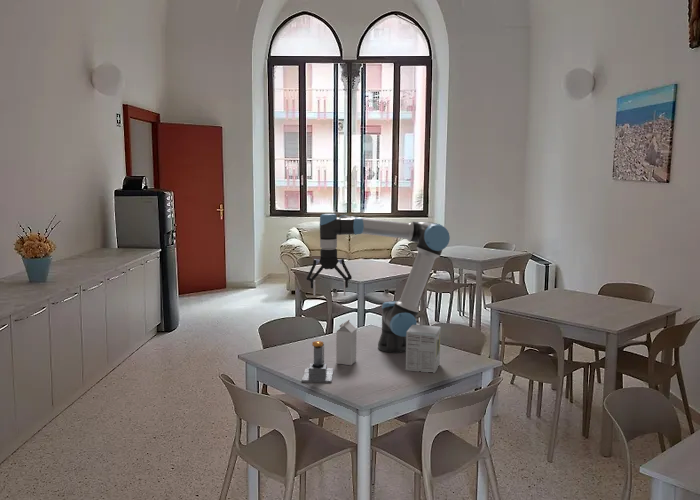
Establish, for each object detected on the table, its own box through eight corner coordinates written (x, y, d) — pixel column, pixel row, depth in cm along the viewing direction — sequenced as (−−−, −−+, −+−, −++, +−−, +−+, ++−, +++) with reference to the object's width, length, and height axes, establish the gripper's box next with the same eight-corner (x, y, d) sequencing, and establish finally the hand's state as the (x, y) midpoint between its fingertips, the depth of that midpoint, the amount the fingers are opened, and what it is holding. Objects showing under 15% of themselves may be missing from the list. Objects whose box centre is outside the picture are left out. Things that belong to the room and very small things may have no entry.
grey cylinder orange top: (323, 373, 263) (323, 341, 261) (322, 377, 259) (323, 344, 257) (312, 373, 263) (312, 340, 261) (311, 376, 259) (311, 344, 257)
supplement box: (435, 373, 267) (436, 333, 265) (405, 370, 271) (405, 331, 269) (440, 364, 280) (441, 326, 278) (411, 361, 284) (412, 324, 282)
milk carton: (356, 361, 284) (356, 320, 281) (351, 365, 277) (351, 323, 275) (341, 359, 286) (341, 318, 284) (336, 364, 279) (336, 322, 277)
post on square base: (333, 370, 270) (333, 343, 269) (331, 383, 255) (331, 354, 253) (306, 370, 271) (305, 343, 269) (301, 382, 255) (301, 353, 253)
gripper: (356, 246, 283) (357, 293, 286) (301, 247, 283) (302, 293, 286) (356, 249, 276) (357, 296, 279) (300, 249, 276) (301, 297, 278)
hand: (329, 295), depth 282 cm, fingers open, 13 cm apart
